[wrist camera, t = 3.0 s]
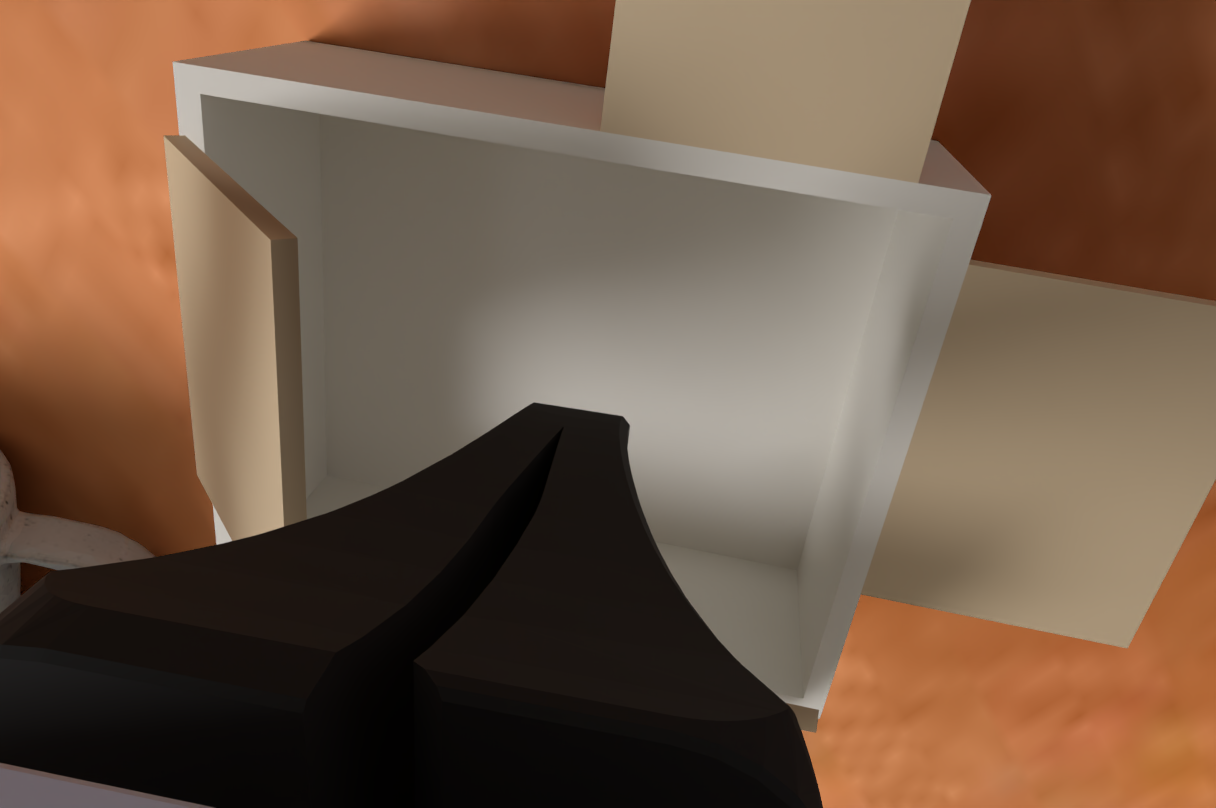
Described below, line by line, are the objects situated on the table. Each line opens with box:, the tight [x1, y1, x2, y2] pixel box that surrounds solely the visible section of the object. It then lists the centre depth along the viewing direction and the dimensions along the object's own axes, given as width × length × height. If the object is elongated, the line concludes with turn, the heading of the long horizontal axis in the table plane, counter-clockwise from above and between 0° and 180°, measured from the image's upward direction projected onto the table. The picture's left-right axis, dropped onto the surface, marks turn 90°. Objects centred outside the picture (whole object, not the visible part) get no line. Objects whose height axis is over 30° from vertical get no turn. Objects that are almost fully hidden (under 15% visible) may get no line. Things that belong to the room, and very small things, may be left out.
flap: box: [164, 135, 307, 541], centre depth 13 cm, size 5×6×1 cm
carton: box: [173, 0, 1216, 719], centre depth 16 cm, size 16×15×4 cm
